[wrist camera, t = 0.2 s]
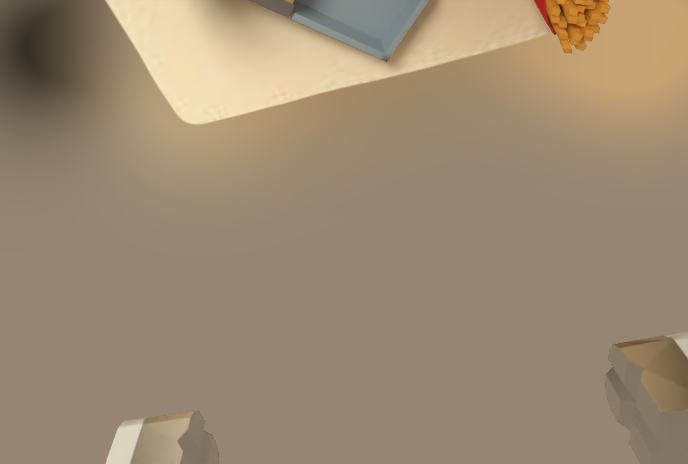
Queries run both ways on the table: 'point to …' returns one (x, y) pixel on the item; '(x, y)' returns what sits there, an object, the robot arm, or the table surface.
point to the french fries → (574, 19)
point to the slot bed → (277, 6)
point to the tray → (361, 21)
